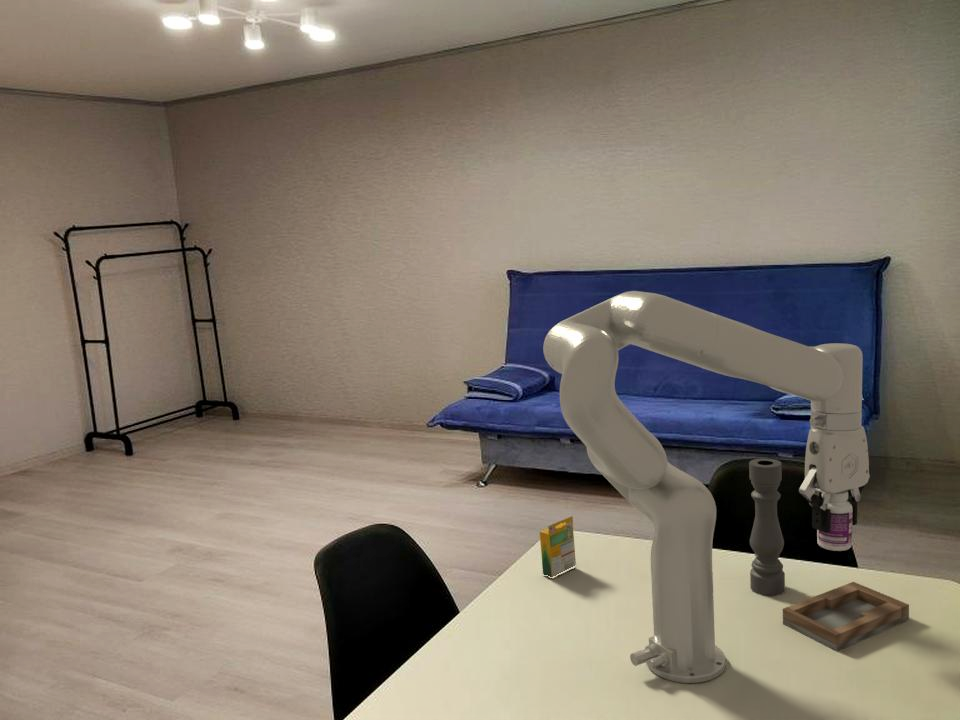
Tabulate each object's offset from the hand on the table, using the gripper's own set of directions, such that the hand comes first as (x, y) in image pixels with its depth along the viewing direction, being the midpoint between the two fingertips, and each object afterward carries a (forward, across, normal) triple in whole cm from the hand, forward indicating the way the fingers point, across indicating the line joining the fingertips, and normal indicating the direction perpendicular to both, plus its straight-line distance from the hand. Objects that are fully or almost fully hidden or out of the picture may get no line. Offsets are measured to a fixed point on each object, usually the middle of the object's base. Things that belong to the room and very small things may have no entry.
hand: (834, 525), depth 131 cm
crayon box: (+20, -26, +47) cm, 57 cm away
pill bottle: (+4, 0, 0) cm, 4 cm away
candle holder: (+19, +3, +18) cm, 26 cm away
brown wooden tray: (+19, +4, +1) cm, 19 cm away
